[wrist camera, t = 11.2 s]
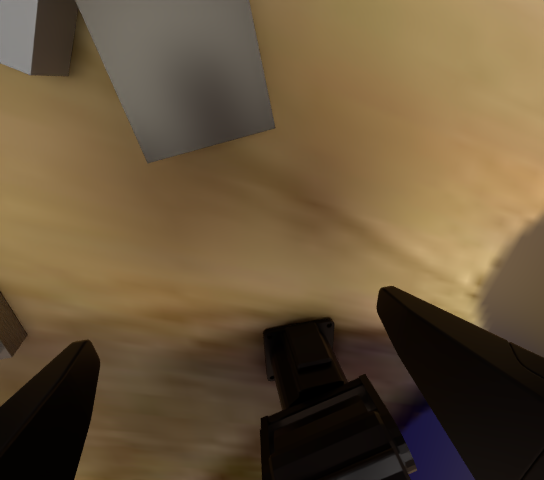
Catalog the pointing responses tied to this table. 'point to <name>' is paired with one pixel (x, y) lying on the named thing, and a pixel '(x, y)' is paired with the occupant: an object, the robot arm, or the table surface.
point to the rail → (9, 331)
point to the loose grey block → (182, 70)
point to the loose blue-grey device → (37, 35)
